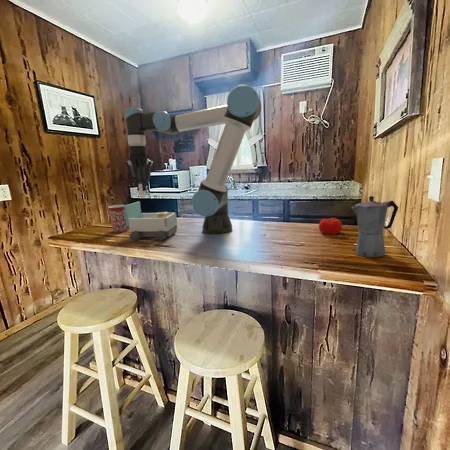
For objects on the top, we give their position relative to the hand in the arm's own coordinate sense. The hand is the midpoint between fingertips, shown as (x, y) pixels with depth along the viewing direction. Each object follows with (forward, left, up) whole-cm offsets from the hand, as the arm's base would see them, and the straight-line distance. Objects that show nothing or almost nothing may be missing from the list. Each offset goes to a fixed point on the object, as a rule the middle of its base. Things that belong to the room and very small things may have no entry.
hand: (142, 197), depth 121 cm
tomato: (-86, -3, -19) cm, 88 cm away
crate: (-8, -1, -13) cm, 15 cm away
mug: (+19, -12, -19) cm, 29 cm away
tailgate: (+5, 0, -13) cm, 14 cm away
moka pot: (-92, +25, -19) cm, 98 cm away
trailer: (-4, 0, -19) cm, 19 cm away
